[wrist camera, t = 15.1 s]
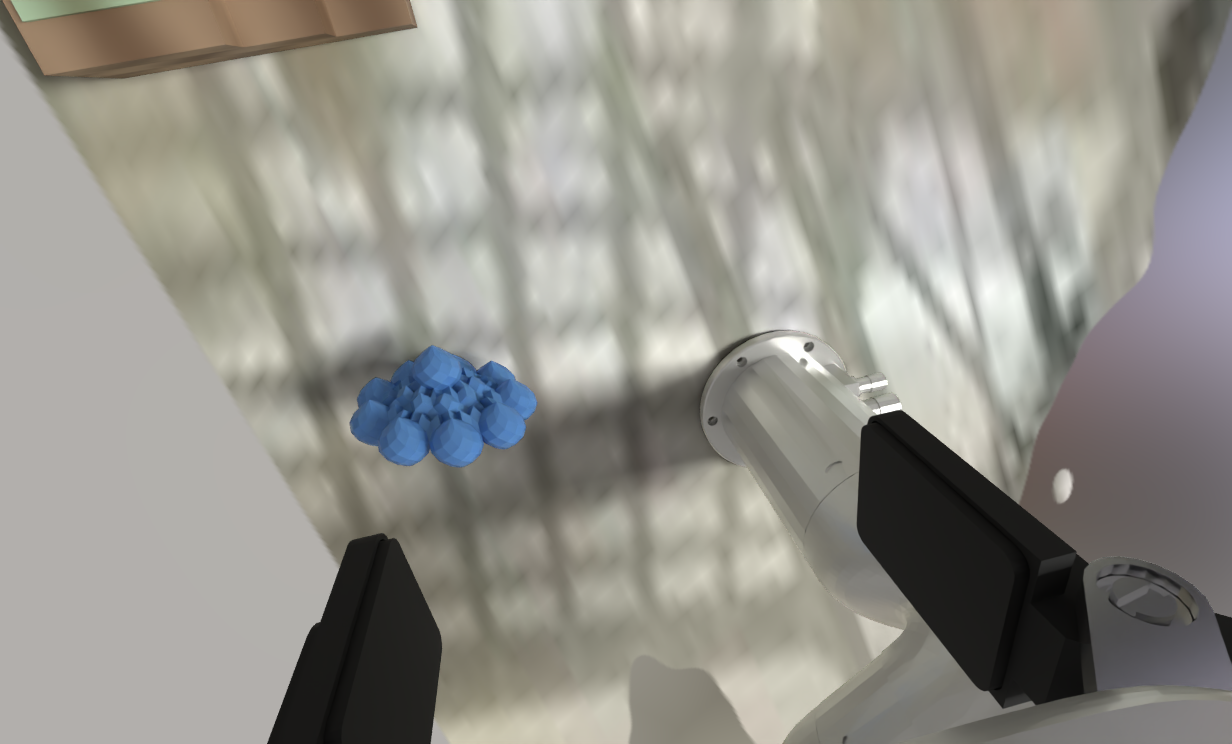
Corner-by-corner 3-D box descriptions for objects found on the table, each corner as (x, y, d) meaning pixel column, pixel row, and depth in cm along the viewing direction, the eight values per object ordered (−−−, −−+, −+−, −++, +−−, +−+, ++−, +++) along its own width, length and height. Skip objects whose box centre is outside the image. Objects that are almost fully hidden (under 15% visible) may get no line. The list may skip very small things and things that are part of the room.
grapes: (527, 303, 40) (533, 379, 30) (536, 387, 43) (545, 483, 33) (355, 319, 39) (298, 404, 28) (378, 404, 42) (333, 511, 31)
